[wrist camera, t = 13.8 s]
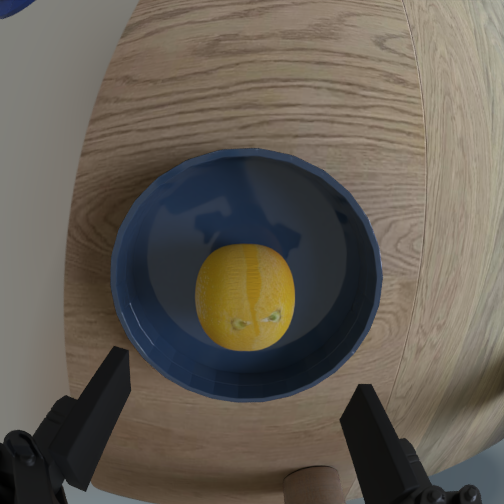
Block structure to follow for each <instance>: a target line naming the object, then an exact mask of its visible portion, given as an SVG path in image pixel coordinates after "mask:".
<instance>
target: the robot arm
mask: <svg viewBox="0 0 504 504" xmlns="http://www.w3.org/2000/svg"><path fill="white" fill-rule="evenodd" d="M130 392H131V384H130V368H129V350H126V349H123V348H119V347H116V346H114V347H113V348H112V350H111V351H110V352H109V354H108V355H107V357H106V358H105V360H104V361H103V363H102V364H101V366H100V367H99V368H98V370H97V371H96V373H95V374H94V376H93V377H92V379H91V380H90V382H89V383H88V385H87V386H86V388H85V389H84V391H83V392H82V394H81V395H80V397H79V399H78V400H76V399H74V398H71V397H69V396H67V395H66V396H64V397H62V398H61V399H59V400H57V401H56V403H55V404H54V405H53V407H52V408H51V411H50V412H49V413H48V414H47V416H46V418H44V420H43V421H42V423H41V424H40V426H39V427H38V429H37V430H36V432H35V433H34V435H33V436H31V435H30V434H29V433H27V432H25V431H22V430H14V431H11V432H9V433H8V434H7V435H6V437H5V438H4V442H3V444H2V443H0V504H68V503H67V499H66V496H65V492H64V489H63V486H62V483H63V481H64V479H66V481H67V482H68V484H69V485H71V486H73V487H76V488H78V489H80V490H83V491H85V492H86V490H87V488H88V485H89V483H90V481H91V478H92V476H93V474H94V471H95V469H96V466H97V464H98V462H99V460H100V457H101V455H102V453H103V450H104V448H105V446H106V444H107V441H108V439H109V437H110V435H111V433H112V430H113V428H114V426H115V424H116V422H117V420H118V417H119V415H120V413H121V411H122V409H123V407H124V405H125V403H126V400H127V398H128V396H129V394H130ZM340 423H341V426H342V430H343V433H344V436H345V439H346V442H347V445H348V448H349V452H350V455H351V458H352V461H353V464H354V468H355V471H356V474H357V478H358V481H359V484H360V488H361V491H362V494H363V498H364V501H365V504H482V500H481V495H480V492H479V490H478V488H477V487H475V486H474V485H465V486H464V487H463V488H461V489H460V490H459V491H452V492H445V491H444V490H443V489H442V488H441V487H439V486H434V485H432V484H431V482H430V480H429V478H428V476H427V474H426V472H425V470H424V468H423V466H422V464H421V462H420V461H419V458H418V455H416V451H415V449H414V447H413V445H412V444H411V443H410V442H409V441H408V440H407V439H406V438H403V439H399V438H398V436H397V434H396V432H395V430H394V428H393V426H392V424H391V422H390V420H389V418H388V416H387V414H386V412H385V410H384V408H383V406H382V404H381V402H380V400H379V398H378V396H377V394H376V392H375V390H374V388H373V386H372V384H358V386H357V388H356V390H355V392H354V394H353V396H352V398H351V400H350V402H349V404H348V405H347V407H346V409H345V411H344V413H343V414H342V416H341V418H340Z"/></svg>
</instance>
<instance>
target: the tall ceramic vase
mask: <svg viewBox="0 0 504 504" xmlns="http://www.w3.org/2000/svg"><path fill="white" fill-rule="evenodd" d="M283 491H284V502H285V504H346V502H345V498H344V494H343V490H342V486H341V482H340V478H339V475H338V472H337V470H336V469H334V468H331V467H326V466H317V467H310V468H305V469H301V470H298V471H296V472H294V473H292V474H290V475H288V476H287V477H286V478H285V479H284V481H283Z"/></svg>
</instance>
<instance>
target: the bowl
mask: <svg viewBox="0 0 504 504" xmlns="http://www.w3.org/2000/svg"><path fill="white" fill-rule="evenodd" d="M232 244H258V245H263V246H266V247H269V248H271V249H273V250H275V251H276V252H277V253H279V254H280V255H281V256H282V257H283V259H284V260H285V261H286V263H287V265H288V266H289V269H290V271H291V274H292V277H293V282H294V289H295V306H294V312H293V316H292V319H291V322H290V324H289V327H288V328H287V330H286V332H285V333H284V335H283V336H282V337H281V338H280V339H279V340H278V341H277V342H275V343H274V344H272V345H271V346H269V347H267V348H264V349H261V350H255V351H235V350H230V349H227V348H224V347H222V346H220V345H218V344H217V343H215V342H214V341H213V340H211V338H210V337H209V336H208V335H207V334H206V333H205V331H204V329H203V328H202V326H201V324H200V321H199V318H198V315H197V311H196V304H195V288H196V281H197V277H198V274H199V271H200V268H201V266H202V264H203V263H204V261H205V260H206V258H207V257H208V256H209V255H210V254H211V253H213V252H214V251H215V250H217V249H219V248H221V247H224V246H227V245H232ZM382 280H383V274H382V265H381V256H380V248H379V245H378V242H377V239H376V237H375V234H374V231H373V229H372V226H371V224H370V221H369V219H368V217H367V216H366V214H365V213H364V212H363V210H362V209H361V207H360V206H359V204H358V203H357V202H356V200H355V199H354V197H353V196H352V195H351V193H350V192H349V191H348V190H346V189H345V188H344V187H343V186H342V185H341V184H340V183H338V182H337V181H336V180H335V179H334V178H332V177H331V176H330V175H329V174H328V173H326V172H325V171H324V170H322V169H320V168H318V167H316V166H314V165H312V164H310V163H308V162H306V161H304V160H302V159H299V158H297V157H295V156H292V155H289V154H284V153H280V152H275V151H270V150H265V149H260V148H242V149H222V150H218V151H214V152H211V153H208V154H204V155H201V156H198V157H194V158H191V159H188V160H186V161H184V162H182V163H181V164H179V165H177V166H176V167H174V168H172V169H171V170H169V171H167V172H166V173H164V174H163V175H161V176H159V177H158V178H157V179H156V180H155V181H154V182H153V183H152V184H151V185H150V186H149V187H148V188H147V189H146V190H145V191H144V192H143V193H142V194H141V195H140V196H139V197H138V198H137V199H136V200H135V202H134V203H133V205H132V206H131V208H130V210H129V212H128V213H127V215H126V217H125V219H124V220H123V222H122V224H121V226H120V228H119V230H118V233H117V237H116V241H115V244H114V248H113V252H112V255H111V281H110V285H111V291H112V296H113V301H114V305H115V310H116V313H117V316H118V318H119V320H120V322H121V324H122V327H123V329H124V331H125V333H126V335H127V337H128V339H129V340H130V341H131V343H132V344H133V345H134V347H135V348H136V349H137V351H138V352H139V353H140V355H141V356H142V357H143V358H144V359H145V360H146V361H147V362H148V363H149V364H150V365H151V366H152V367H154V368H155V369H156V370H157V371H158V372H159V373H160V374H162V375H163V376H164V377H166V378H167V379H169V380H171V381H172V382H174V383H176V384H177V385H179V386H181V387H183V388H184V389H186V390H189V391H192V392H195V393H197V394H200V395H203V396H206V397H209V398H212V399H218V400H224V401H230V402H238V403H239V402H265V401H270V400H275V399H280V398H285V397H289V396H292V395H294V394H297V393H299V392H302V391H304V390H307V389H309V388H311V387H313V386H315V385H317V384H318V383H320V382H321V381H323V380H324V379H326V378H328V377H329V376H331V375H332V374H333V373H335V372H336V371H337V370H338V369H339V368H340V367H341V366H342V365H343V364H344V363H345V362H346V361H347V360H348V359H349V358H350V357H351V356H352V355H353V354H354V353H355V352H356V350H357V349H358V348H359V346H360V344H361V343H362V341H363V340H364V338H365V337H366V335H367V334H368V332H369V330H370V328H371V326H372V323H373V320H374V318H375V315H376V312H377V310H378V307H379V303H380V296H381V288H382Z"/></svg>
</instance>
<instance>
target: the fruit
mask: <svg viewBox="0 0 504 504" xmlns="http://www.w3.org/2000/svg"><path fill="white" fill-rule="evenodd" d="M195 304H196V311H197V315H198V318H199V321H200V324H201V326H202V328H203V329H204V331H205V333H206V334H207V335H208V336H209V337H210V338H211V340H213V341H214V342H215V343H217V344H218V345H220V346H222V347H224V348H227V349H230V350H235V351H255V350H261V349H264V348H267V347H269V346H271V345H272V344H274V343H275V342H277V341H278V340H279V339H280V338H281V337H282V336H283V335H284V333H285V332H286V330H287V328H288V327H289V324H290V322H291V319H292V316H293V312H294V306H295V289H294V282H293V277H292V274H291V271H290V269H289V266H288V265H287V263H286V261H285V260H284V259H283V257H282V256H281V255H280V254H279V253H277V252H276V251H275V250H273V249H271V248H269V247H266V246H263V245H258V244H232V245H227V246H224V247H221V248H219V249H217V250H215V251H214V252H213V253H211V254H210V255H209V256H208V257H207V258H206V260H205V261H204V263H203V264H202V266H201V268H200V271H199V274H198V277H197V281H196V288H195Z"/></svg>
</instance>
